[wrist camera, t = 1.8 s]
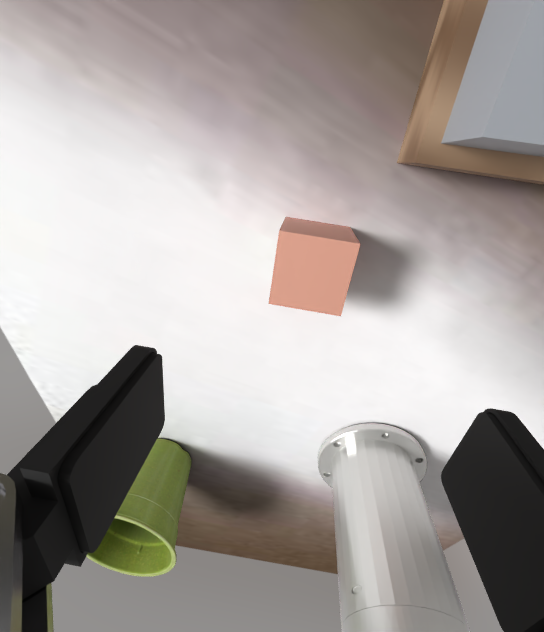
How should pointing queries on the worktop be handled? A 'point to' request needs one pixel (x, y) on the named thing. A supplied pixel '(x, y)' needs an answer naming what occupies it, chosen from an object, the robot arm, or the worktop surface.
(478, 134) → the upper block
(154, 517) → the plant pot
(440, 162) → the lower block
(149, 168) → the worktop surface
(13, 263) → the worktop surface
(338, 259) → the pink cube
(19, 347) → the worktop surface
